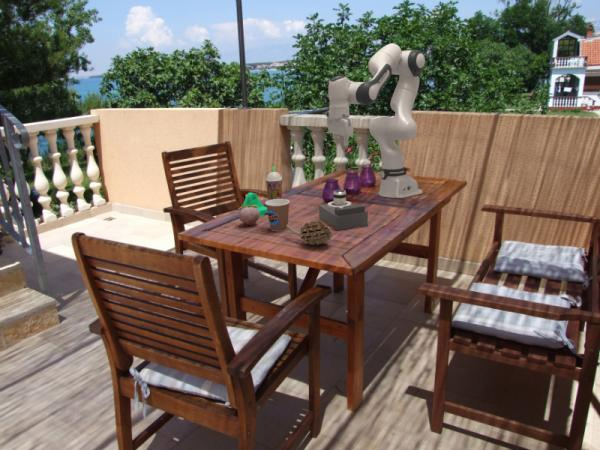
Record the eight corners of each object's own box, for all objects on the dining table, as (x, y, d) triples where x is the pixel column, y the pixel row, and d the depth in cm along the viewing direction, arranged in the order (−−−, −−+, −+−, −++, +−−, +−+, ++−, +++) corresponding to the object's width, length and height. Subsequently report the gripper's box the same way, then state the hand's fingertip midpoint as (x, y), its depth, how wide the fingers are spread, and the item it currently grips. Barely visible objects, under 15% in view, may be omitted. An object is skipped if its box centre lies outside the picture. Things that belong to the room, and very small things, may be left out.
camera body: (347, 213, 239) (347, 194, 236) (367, 225, 221) (367, 204, 218) (319, 218, 234) (318, 198, 231) (337, 230, 216) (336, 209, 213)
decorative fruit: (256, 221, 235) (255, 199, 232) (262, 225, 228) (260, 203, 225) (236, 224, 232) (234, 202, 229) (241, 229, 225) (239, 206, 222)
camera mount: (249, 219, 239) (247, 197, 236) (241, 216, 244) (239, 195, 241) (271, 213, 246) (269, 192, 242) (262, 210, 251) (260, 190, 248)
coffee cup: (262, 229, 222) (260, 202, 219) (280, 223, 229) (278, 197, 226) (278, 234, 215) (276, 206, 212) (296, 228, 222) (294, 201, 218)
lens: (342, 210, 233) (342, 188, 230) (348, 214, 228) (348, 191, 225) (331, 212, 231) (331, 190, 228) (336, 215, 226) (336, 193, 223)
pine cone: (338, 243, 201) (337, 219, 198) (325, 251, 193) (324, 226, 190) (291, 235, 213) (289, 212, 210) (277, 243, 205) (275, 219, 202)
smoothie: (265, 208, 255) (262, 168, 249) (270, 203, 263) (267, 164, 257) (281, 208, 253) (279, 168, 247) (286, 203, 261) (283, 164, 255)
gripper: (356, 114, 225) (357, 146, 230) (336, 110, 243) (337, 140, 248) (343, 116, 223) (344, 148, 228) (324, 112, 241) (325, 142, 246)
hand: (341, 144), depth 238 cm, fingers open, 8 cm apart
